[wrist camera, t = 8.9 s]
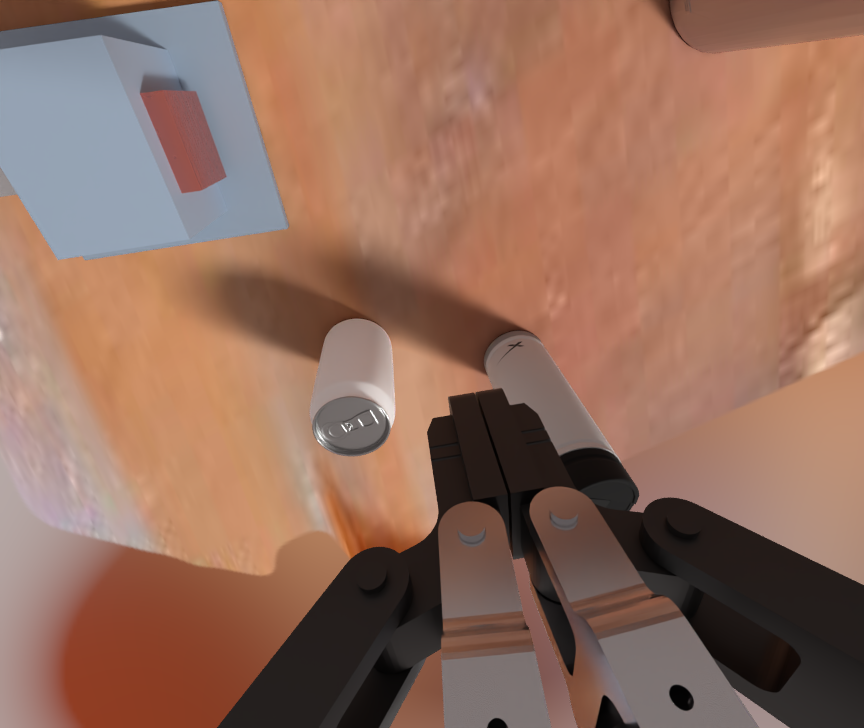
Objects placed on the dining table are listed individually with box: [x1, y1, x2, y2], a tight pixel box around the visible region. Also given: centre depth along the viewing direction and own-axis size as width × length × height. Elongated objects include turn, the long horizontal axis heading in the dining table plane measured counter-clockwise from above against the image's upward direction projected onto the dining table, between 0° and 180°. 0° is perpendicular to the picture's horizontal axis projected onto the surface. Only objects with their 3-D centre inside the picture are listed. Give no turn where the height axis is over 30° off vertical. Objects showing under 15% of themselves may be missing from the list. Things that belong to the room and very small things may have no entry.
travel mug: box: [484, 331, 639, 511], centre depth 35 cm, size 6×7×20 cm
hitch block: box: [0, 1, 289, 260], centre depth 27 cm, size 16×14×9 cm
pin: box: [0, 90, 227, 197], centre depth 27 cm, size 13×5×5 cm, turn 97°
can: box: [310, 319, 395, 456], centre depth 36 cm, size 6×6×12 cm
